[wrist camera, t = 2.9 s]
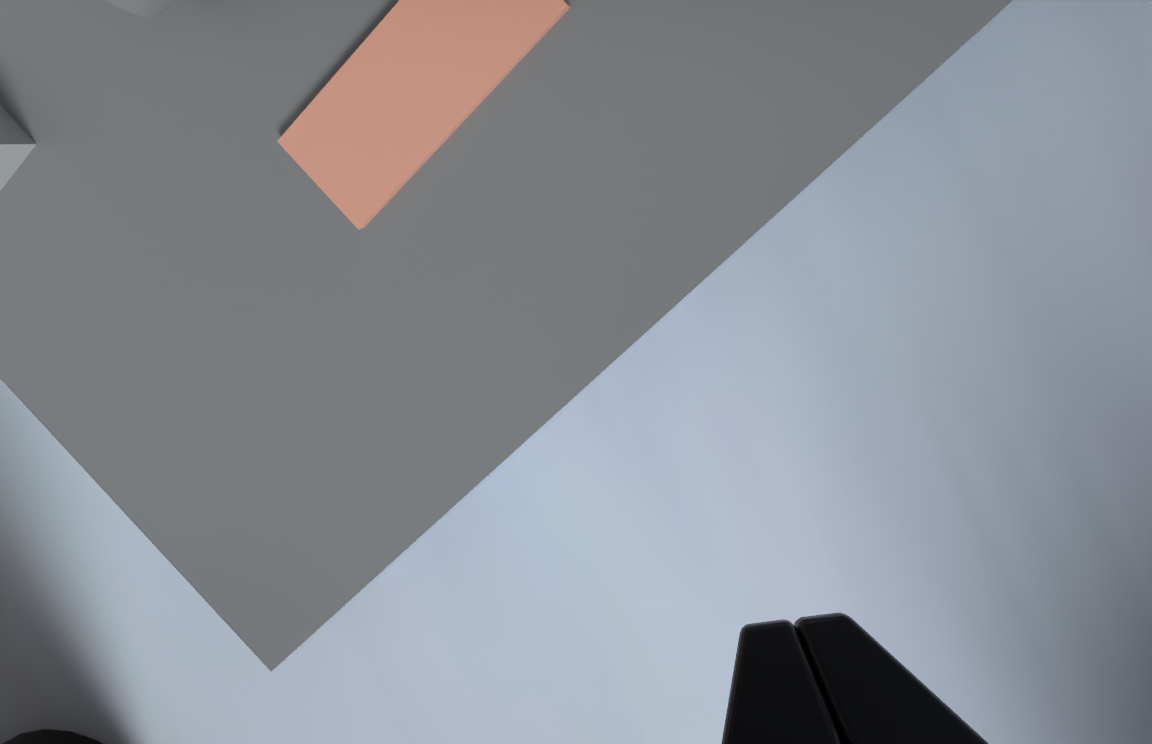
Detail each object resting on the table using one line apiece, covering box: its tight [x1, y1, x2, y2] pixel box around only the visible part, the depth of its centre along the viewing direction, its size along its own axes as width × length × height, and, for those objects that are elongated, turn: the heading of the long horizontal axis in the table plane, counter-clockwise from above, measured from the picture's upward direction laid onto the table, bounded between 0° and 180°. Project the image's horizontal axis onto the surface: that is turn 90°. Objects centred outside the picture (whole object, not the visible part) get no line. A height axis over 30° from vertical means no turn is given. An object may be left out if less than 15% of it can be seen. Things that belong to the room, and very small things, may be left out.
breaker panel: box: [0, 0, 1012, 671], centre depth 17 cm, size 14×20×3 cm
